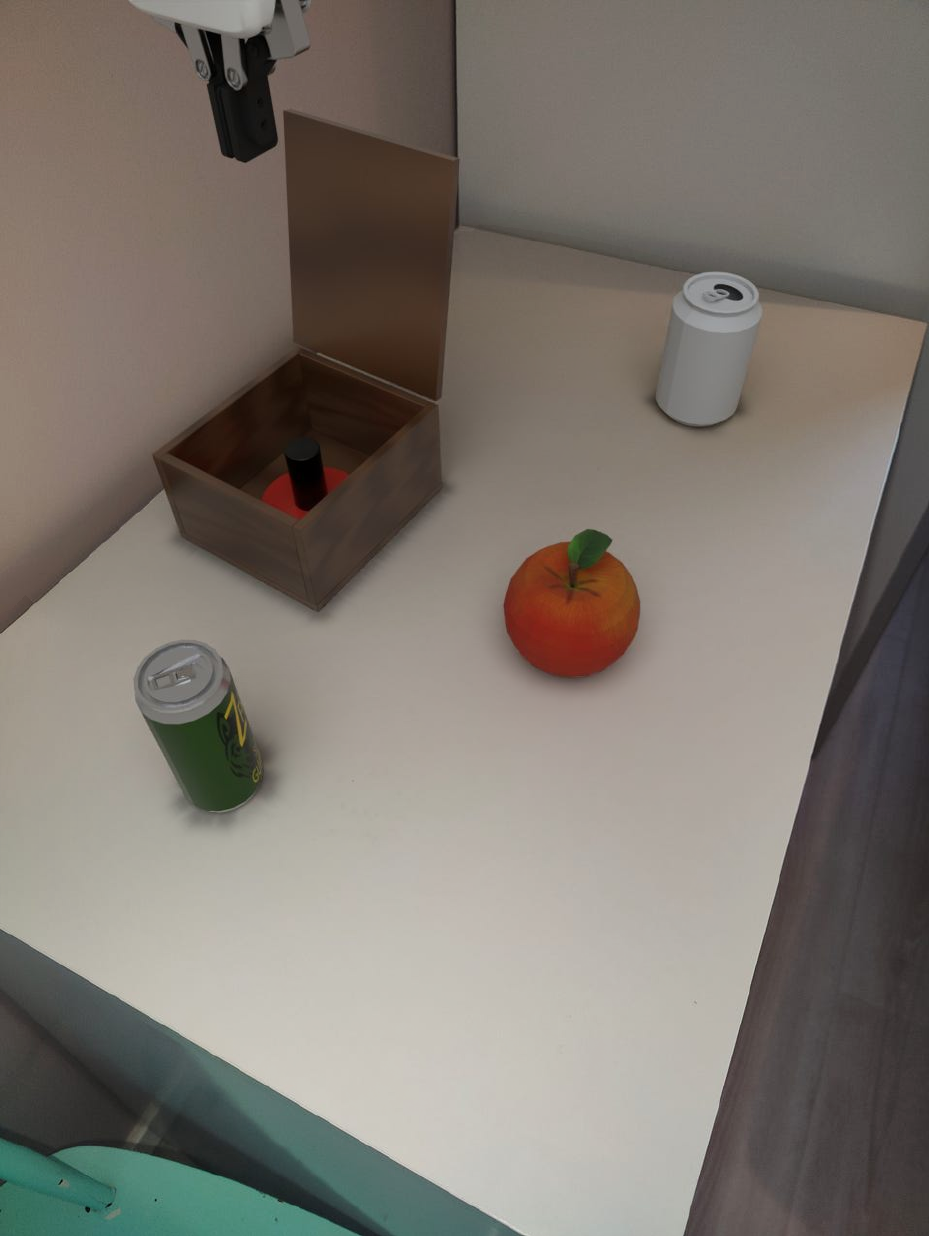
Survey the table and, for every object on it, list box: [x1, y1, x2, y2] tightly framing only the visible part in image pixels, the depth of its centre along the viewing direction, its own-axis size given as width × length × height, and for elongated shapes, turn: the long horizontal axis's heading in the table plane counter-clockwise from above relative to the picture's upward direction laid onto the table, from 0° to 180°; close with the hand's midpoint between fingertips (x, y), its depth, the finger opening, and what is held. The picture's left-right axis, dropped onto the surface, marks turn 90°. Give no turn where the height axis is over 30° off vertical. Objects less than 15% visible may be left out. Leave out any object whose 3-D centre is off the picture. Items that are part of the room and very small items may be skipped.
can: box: [655, 271, 763, 428], centre depth 79 cm, size 8×8×12 cm
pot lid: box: [262, 437, 349, 520], centre depth 73 cm, size 8×8×6 cm
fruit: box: [502, 528, 641, 678], centre depth 63 cm, size 10×10×10 cm
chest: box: [151, 345, 443, 613], centre depth 72 cm, size 17×15×9 cm
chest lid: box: [282, 108, 460, 402], centre depth 67 cm, size 17×15×1 cm
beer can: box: [133, 639, 265, 813], centre depth 55 cm, size 5×5×12 cm
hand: (250, 150), depth 53 cm, fingers closed
